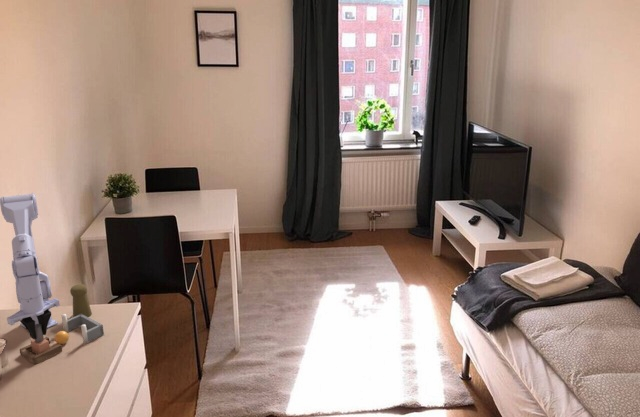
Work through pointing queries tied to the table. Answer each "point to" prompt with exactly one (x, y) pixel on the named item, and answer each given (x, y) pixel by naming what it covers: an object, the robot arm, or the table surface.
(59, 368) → the table surface
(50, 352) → the rail frame
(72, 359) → the table surface
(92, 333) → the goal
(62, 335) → the ball
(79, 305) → the olive green tapered cylinder
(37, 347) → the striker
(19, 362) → the table surface
